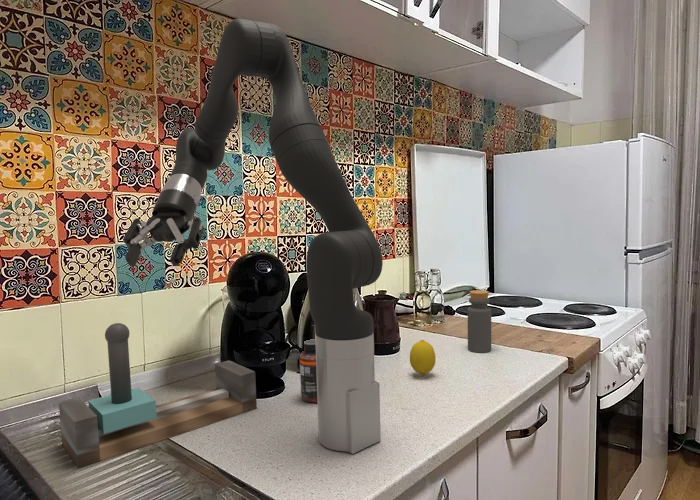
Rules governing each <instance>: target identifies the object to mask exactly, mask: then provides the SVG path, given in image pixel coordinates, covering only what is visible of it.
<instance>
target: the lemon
mask: <svg viewBox="0 0 700 500" xmlns="http://www.w3.org/2000/svg"><path fill="white" fill-rule="evenodd" d="M436 359H437V358H436V353H435V349H434V346H433V345H432V344H430V343H429V342H428V341H425V340H424V339H420V340H419V341H416V343H414V344H413V345H412V346H411V349H410V351H409V362H410V366H411V368H412V369H413V371H415V372H416V373H418V374H420V376H421V377H424V376H426V375H427V374H428V373H430V372H432V370H433V369H434V367H435V365H436Z"/></svg>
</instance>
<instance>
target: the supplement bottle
mask: <svg viewBox="0 0 700 500" xmlns="http://www.w3.org/2000/svg"><path fill="white" fill-rule="evenodd" d="M299 375H300V379H299V381H300V395H301V399H302V400H303V401H305V402H308V403H317V373H316V340H315V339H310V340H306V341H304V351H302V352H301V353H300V354H299Z"/></svg>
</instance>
